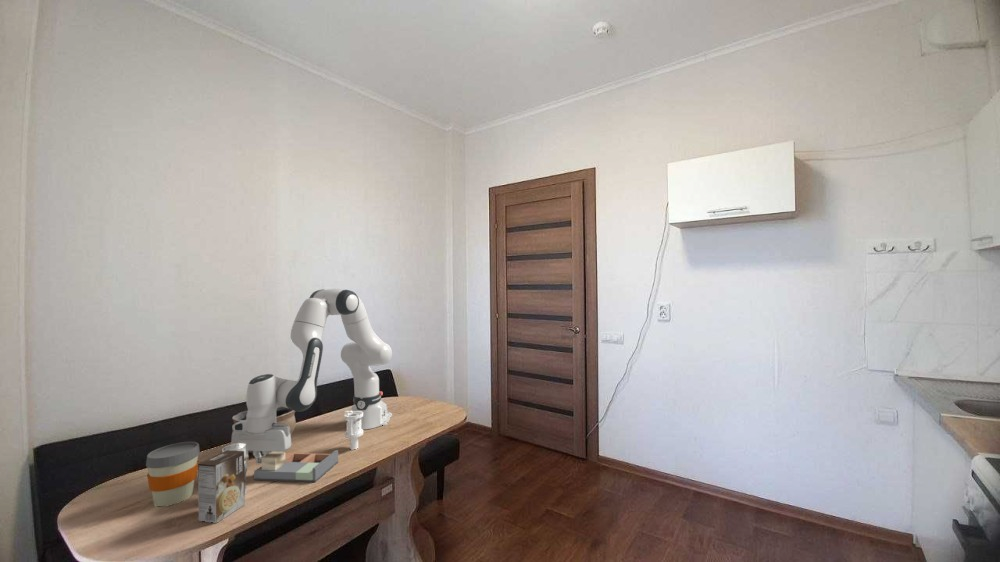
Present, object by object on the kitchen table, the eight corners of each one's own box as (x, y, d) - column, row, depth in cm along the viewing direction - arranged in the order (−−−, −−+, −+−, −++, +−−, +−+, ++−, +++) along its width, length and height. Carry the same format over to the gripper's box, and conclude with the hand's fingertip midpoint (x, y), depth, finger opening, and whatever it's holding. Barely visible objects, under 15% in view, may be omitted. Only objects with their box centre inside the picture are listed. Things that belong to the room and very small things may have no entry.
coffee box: (227, 502, 111) (227, 449, 111) (245, 504, 110) (245, 450, 110) (197, 521, 102) (197, 463, 102) (216, 524, 101) (216, 465, 101)
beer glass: (224, 492, 117) (224, 444, 117) (250, 487, 120) (250, 440, 120) (218, 503, 111) (218, 453, 111) (245, 498, 113) (245, 448, 114)
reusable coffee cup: (172, 487, 120) (172, 441, 121) (210, 487, 120) (210, 441, 120) (133, 510, 108) (133, 459, 108) (174, 510, 107) (174, 458, 108)
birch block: (272, 463, 130) (272, 451, 130) (285, 463, 129) (285, 451, 130) (261, 469, 125) (261, 458, 125) (275, 470, 124) (275, 458, 125)
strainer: (349, 444, 151) (349, 408, 152) (366, 444, 151) (365, 408, 152) (341, 452, 144) (341, 413, 145) (359, 452, 144) (358, 413, 145)
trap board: (282, 460, 138) (282, 448, 138) (338, 462, 136) (338, 450, 136) (254, 480, 124) (254, 466, 124) (315, 482, 122) (315, 468, 122)
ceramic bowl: (224, 465, 135) (224, 424, 135) (238, 443, 155) (238, 407, 155) (293, 453, 144) (293, 415, 145) (298, 434, 164) (298, 400, 164)
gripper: (295, 420, 130) (295, 459, 130) (242, 419, 132) (242, 457, 132) (283, 426, 124) (283, 468, 124) (227, 425, 126) (227, 466, 126)
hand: (261, 462), depth 128 cm, fingers closed
